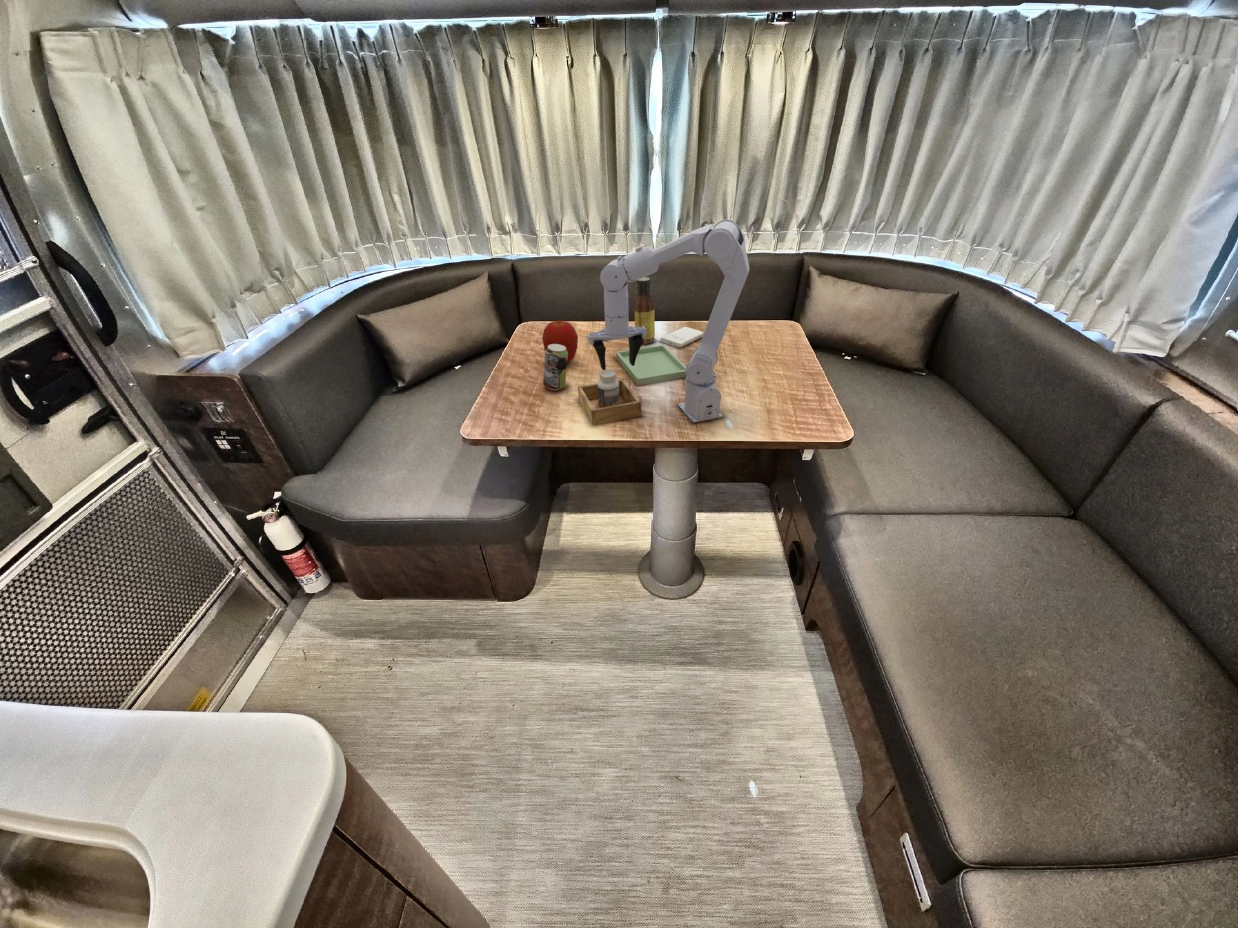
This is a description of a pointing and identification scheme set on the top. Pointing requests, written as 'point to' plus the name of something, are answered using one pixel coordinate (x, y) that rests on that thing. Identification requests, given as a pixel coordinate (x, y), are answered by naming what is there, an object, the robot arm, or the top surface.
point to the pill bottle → (608, 389)
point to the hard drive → (682, 337)
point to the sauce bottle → (645, 310)
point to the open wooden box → (609, 412)
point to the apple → (561, 337)
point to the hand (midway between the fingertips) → (617, 366)
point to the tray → (652, 365)
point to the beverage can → (555, 366)
